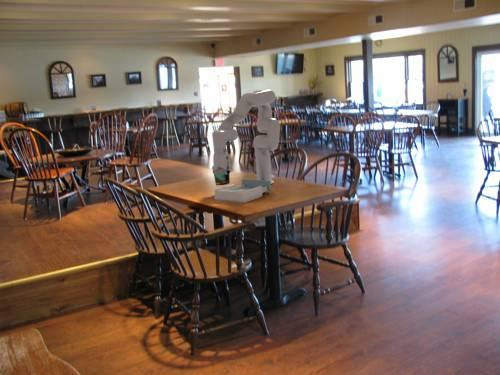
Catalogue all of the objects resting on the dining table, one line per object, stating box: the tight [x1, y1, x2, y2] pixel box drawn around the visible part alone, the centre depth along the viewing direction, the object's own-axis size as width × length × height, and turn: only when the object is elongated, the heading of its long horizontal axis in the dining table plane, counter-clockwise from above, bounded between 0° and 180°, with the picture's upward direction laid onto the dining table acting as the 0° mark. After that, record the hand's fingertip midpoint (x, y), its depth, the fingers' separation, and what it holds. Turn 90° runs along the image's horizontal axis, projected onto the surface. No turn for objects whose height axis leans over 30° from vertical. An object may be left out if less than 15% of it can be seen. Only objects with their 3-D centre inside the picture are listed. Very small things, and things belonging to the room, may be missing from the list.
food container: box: [212, 168, 231, 186], centre depth 311 cm, size 12×6×10 cm, turn 132°
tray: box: [227, 178, 272, 194], centre depth 303 cm, size 18×20×6 cm
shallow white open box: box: [214, 183, 263, 204], centre depth 295 cm, size 19×20×6 cm
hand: (223, 180), depth 312 cm, fingers closed on food container, 5 cm apart
